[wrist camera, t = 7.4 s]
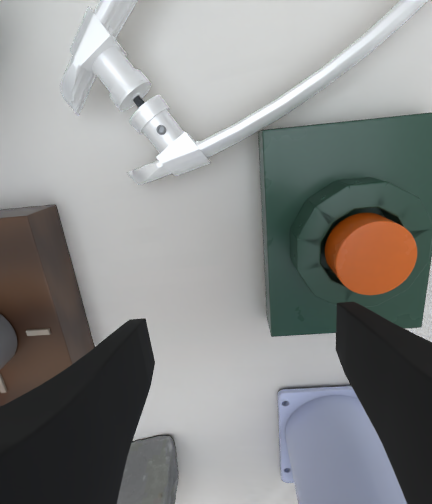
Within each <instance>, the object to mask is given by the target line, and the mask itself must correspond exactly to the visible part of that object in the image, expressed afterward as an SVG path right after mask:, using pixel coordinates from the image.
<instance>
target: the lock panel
mask: <svg viewBox="0 0 432 504" xmlns="http://www.w3.org/2000/svg"><path fill="white" fill-rule="evenodd" d="M0 314H1V315H2V316H3V317H5V318H6V319H7V320H8V322H9V323H10V324H11V325H12V327H13V329H14V331H15V333H16V336H17V341H18V342H17V350H16V352H15V354H14V356H13V357H12V358H11V359H10V360H9V361H8V362H7V364H6V365H5V366H4V367H3V368H2V369H1V370H0V406H3V405H5V404H7V403H9V402H10V401H12V400H14V399H16V398H18V397H20V396H21V395H23V394H25V393H27V392H29V391H31V390H32V389H34V388H36V387H38V386H40V385H41V384H43V383H45V382H46V381H48V380H49V379H51V378H53V377H54V376H56V375H57V374H59V373H60V372H62V371H63V370H65V369H66V368H68V367H69V366H71V365H72V364H73V363H75V362H76V361H77V360H79V359H80V358H81V357H83V356H84V355H86V354H87V353H88V352H90V351H91V350H92V349H94V344H93V341H92V337H91V333H90V330H89V326H88V322H87V318H86V315H85V311H84V307H83V304H82V300H81V296H80V293H79V289H78V285H77V281H76V278H75V274H74V270H73V267H72V263H71V259H70V255H69V252H68V248H67V244H66V241H65V237H64V233H63V230H62V226H61V222H60V218H59V215H58V211H57V207H56V205H47V206H36V207H25V208H14V209H3V210H0Z"/></svg>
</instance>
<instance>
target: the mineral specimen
mask: <svg viewBox="0 0 432 504" xmlns="http://www.w3.org/2000/svg"><path fill="white" fill-rule="evenodd" d="M177 485H178V469H177V460H176V447H175V445H174V441H173V439H172V438H171V437H170V436H156V437H152V438H148V439H145V440H137V441H135V442H133V443H131V446H130V450H129V453H128V456H127V460H126V465H125V469H124V473H123V478H122V482H121V486H120V491H119V496H118V500H117V504H175V499H176V491H177Z"/></svg>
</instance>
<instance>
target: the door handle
mask: <svg viewBox="0 0 432 504" xmlns="http://www.w3.org/2000/svg"><path fill="white" fill-rule="evenodd" d="M137 1H138V0H100V2H99V4H98V5H97V7H96V9H95V11H93V10H92V9H91V8H90V7H89V6H88V9H87V11H86V13H85V15H84V18H83V20H82V22H81V24H80V27H79V29H78V31H77V34H76V36H75V38H74V40H73V43H72V45H71V47H70V51H71V53H72V55H73V56H72V58H71V60H70V62H69V64H68V66H67V68H66V70H65V73H64V76H63V78H62V81H61V86H60V89H61V94H62V96H63V98H64V100H65V101H66V103H67V104H68V105H69V106H70V107H71V109H72V110H73V111H74V112H75V113H76V114H77V116H79V115H80V112H81V110H82V108H83V105H84V103H85V101H86V98H87V96H88V93H89V91H90V89H91V86H92V84H93V82H94V80H95V78H96V76H97V77H98V78H99V79H100V80H101V82H102V83H103V84H104V85H105V86H106V88H107V89H108V90H109V91H110V98H111V99H112V101H113V102H114V104H115V105H116V106H117V108H118V109H119V110H120V111H126V110H128V109H130V108H131V107H133V106H134V105H135V104H136V105H137V107H138V109H137V110H136V111H135V113H134V114H133V115H132V117H131V118H130V120H129V123H130V124H131V125H132V126H133V127H134V128H135V129H136V131H137V132H138V133H139V134H145V136H146V137H147V138H148V139H149V140H150V142H151V143H152V144H153V145H154V147H155V148H156V149H157V150H158V151H159V153H160V154H159V155H158V156H157V157H156V158H157V159H158V160H157V161H155V162H152V163H150V164H147V165H144V166H142V167H140V168H137V169H134V170H133V171H130V172H127V174H128V175H129V176H130V177H131V178H132V179H133V181H134V182H135V183H136V184H138V185H142V184H145V183H148V182H151V181H154V180H157V179H159V178H162V177H164V176H167V175H169V174H171V173H172V174H173V175H175V176H178V175H181V174H183V173H186V172H189V171H191V170H194V169H196V168H199V167H202V166H204V165H207V164H209V163H211V162H210V160H209V159H208V157H210V156H212V155H214V154H216V153H218V152H220V151H222V150H224V149H226V148H228V147H230V146H232V145H234V144H236V143H238V142H240V141H242V140H244V139H245V138H247V137H249V136H250V135H252V134H254V133H256V132H257V131H259V130H261V129H262V128H264V127H266V126H267V125H269V124H271V123H273V122H274V121H276V120H278V119H279V118H281V117H283V116H284V115H286V114H287V113H289V112H290V111H292V110H293V109H295V108H296V107H298V106H299V105H301V104H302V103H303V102H305V101H306V100H308V99H309V98H311V97H312V96H314V95H315V94H317V93H318V92H320V91H321V90H323V89H324V88H326V87H327V86H328V85H329V84H331V83H332V82H333V81H335V80H336V79H337V78H339V77H340V76H341V75H342V74H344V73H345V72H346V71H348V70H349V69H350V68H352V67H353V66H354V65H355V64H357V63H358V62H359V61H361V60H362V59H363V58H365V57H366V56H367V55H368V54H370V53H371V52H372V51H373V50H374V49H375V48H376V47H378V46H379V45H380V44H381V43H382V42H383V41H384V40H386V39H387V38H388V37H389V36H390V35H391V34H393V33H394V32H395V31H396V30H397V29H398V28H399V27H401V26H402V25H403V24H404V23H405V22H406V21H407V20H409V19H410V18H411V17H412V16H413V15H414V14H415V13H416V12H417V11H418V10H419V9H420V8H421V7H422V6H423V5H424V4H425V3H426V2H427V1H428V0H400V1H399V2H398V3H397V4H396V5H395V6H394V7H393V8H392V9H391V10H390V11H389V12H388V13H387V14H386V15H385V16H383V17H382V18H381V19H380V20H379V21H378V22H377V23H376V24H374V25H373V26H372V27H371V28H370V29H369V30H368V31H367V32H365V33H364V34H363V35H362V36H361V37H360V38H359V39H358V40H356V41H355V42H354V43H353V44H351V45H350V46H349V47H348V48H346V49H345V50H344V51H342V52H341V53H340V54H339V55H337V56H336V57H335V58H333V59H332V60H331V61H330V62H328V63H327V64H326V65H325V66H323V67H322V68H321V69H319V70H318V71H316V72H315V73H313V74H312V75H311V76H309V77H308V78H306V79H305V80H303V81H302V82H300V83H299V84H297V85H296V86H295V87H293V88H292V89H290V90H289V91H287V92H286V93H284V94H283V95H281V96H280V97H279V98H277V99H275V100H274V101H272V102H270V103H269V104H267V105H265V106H264V107H262V108H260V109H259V110H257V111H255V112H254V113H252V114H250V115H249V116H247V117H245V118H244V119H242V120H240V121H239V122H237V123H235V124H233V125H232V126H230V127H228V128H226V129H224V130H222V131H220V132H218V133H216V134H214V135H212V136H210V137H208V138H206V139H204V140H202V141H200V142H199V141H197V142H195V140H194V139H193V138H192V137H191V135H189V134H188V133H187V132H184V131H183V130H182V129H181V127H180V126H179V125H178V123H177V122H176V121H175V120H174V118H173V117H172V116H171V114H170V113H169V110H170V108H169V107H168V105H167V104H166V102H165V101H164V99H163V98H162V96H161V95H156V96H154V97H152V98H150V99H149V100H147V101H146V102H144V101H143V100H142V98H143V97H144V96H145V95H146V94H147V92H148V91H149V89H150V87H151V82H150V81H149V79H148V78H147V77H146V76H145V75H144V74H143V73H142V72H141V70H139V69H135V68H134V67H133V66H132V64H131V63H130V62H129V60H128V59H127V58H126V56H127V55H128V54H127V53H126V52H125V50H124V49H123V48H122V46H121V45H120V44H119V42H118V41H117V40H116V37H117V35H118V34H119V32H120V30H121V29H122V27H123V25H124V24H125V22H126V20H127V18H128V17H129V15H130V13H131V12H132V10H133V8H134V6H135V5H136V3H137Z"/></svg>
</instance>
